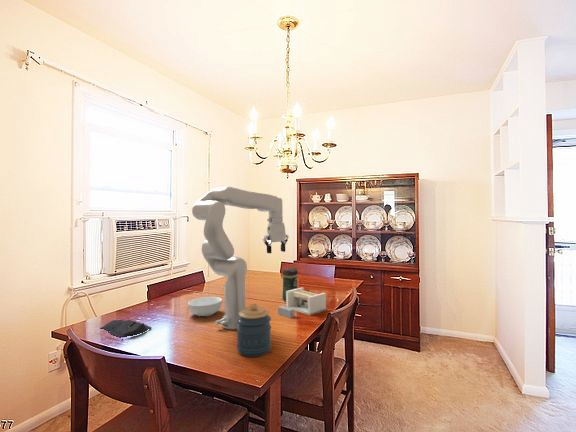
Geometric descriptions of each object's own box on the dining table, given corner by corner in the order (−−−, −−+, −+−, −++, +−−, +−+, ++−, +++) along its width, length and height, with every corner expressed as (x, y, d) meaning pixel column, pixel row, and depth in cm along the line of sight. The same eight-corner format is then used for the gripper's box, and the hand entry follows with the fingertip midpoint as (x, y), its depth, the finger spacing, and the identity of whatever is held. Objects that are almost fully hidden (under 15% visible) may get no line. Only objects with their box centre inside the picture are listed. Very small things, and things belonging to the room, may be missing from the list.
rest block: (289, 317, 154) (289, 310, 154) (278, 313, 161) (278, 306, 160) (294, 316, 156) (294, 309, 156) (282, 312, 163) (282, 305, 162)
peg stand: (310, 315, 157) (309, 297, 157) (286, 307, 170) (286, 291, 170) (326, 310, 165) (325, 293, 164) (302, 303, 178) (302, 287, 178)
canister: (230, 354, 115) (229, 306, 115) (247, 340, 127) (246, 297, 127) (262, 360, 111) (261, 310, 110) (276, 345, 123) (276, 300, 122)
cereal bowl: (211, 307, 173) (211, 294, 173) (228, 313, 162) (228, 300, 161) (182, 314, 161) (182, 301, 161) (198, 322, 150) (198, 307, 150)
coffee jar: (292, 302, 179) (291, 270, 179) (280, 300, 183) (280, 269, 183) (300, 298, 188) (299, 267, 188) (288, 296, 192) (288, 266, 192)
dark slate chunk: (124, 322, 152) (124, 313, 152) (154, 330, 141) (154, 320, 141) (92, 333, 139) (91, 323, 139) (122, 343, 128) (122, 331, 128)
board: (310, 301, 160) (310, 296, 160) (293, 296, 170) (293, 291, 170) (318, 299, 164) (318, 294, 164) (301, 294, 174) (301, 290, 174)
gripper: (267, 221, 161) (267, 254, 161) (292, 220, 172) (292, 251, 172) (258, 221, 166) (259, 253, 166) (283, 220, 178) (283, 250, 178)
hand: (276, 252), depth 169 cm, fingers open, 9 cm apart
